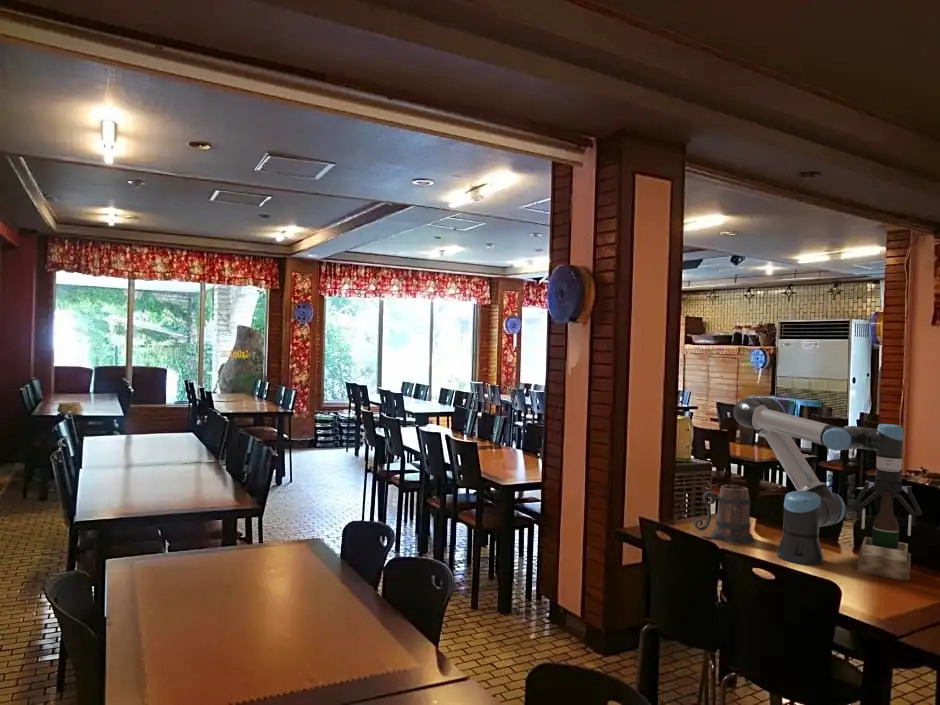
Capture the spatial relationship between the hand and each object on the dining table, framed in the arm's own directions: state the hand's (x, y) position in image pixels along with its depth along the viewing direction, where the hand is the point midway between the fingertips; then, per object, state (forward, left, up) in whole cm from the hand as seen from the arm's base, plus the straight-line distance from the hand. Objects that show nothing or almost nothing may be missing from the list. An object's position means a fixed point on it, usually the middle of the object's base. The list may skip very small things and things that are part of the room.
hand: (885, 531), depth 239 cm
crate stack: (0, 0, -14) cm, 14 cm away
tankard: (-48, -28, -14) cm, 57 cm away
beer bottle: (0, 0, -10) cm, 10 cm away
